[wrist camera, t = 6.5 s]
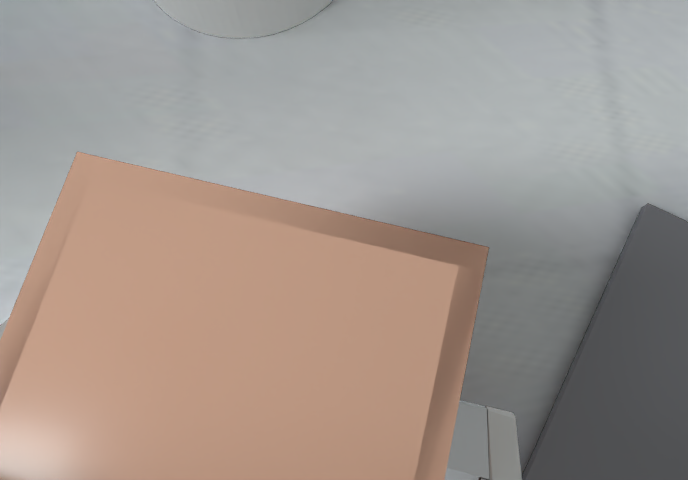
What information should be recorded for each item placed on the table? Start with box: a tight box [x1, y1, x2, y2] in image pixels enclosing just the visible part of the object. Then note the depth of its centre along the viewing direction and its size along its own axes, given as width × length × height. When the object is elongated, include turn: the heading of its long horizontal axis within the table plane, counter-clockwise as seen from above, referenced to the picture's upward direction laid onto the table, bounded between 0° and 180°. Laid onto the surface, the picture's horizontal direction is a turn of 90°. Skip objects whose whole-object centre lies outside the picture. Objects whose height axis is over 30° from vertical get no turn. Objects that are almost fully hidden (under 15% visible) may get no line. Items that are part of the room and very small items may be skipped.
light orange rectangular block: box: [0, 152, 489, 480], centre depth 11 cm, size 6×6×8 cm
